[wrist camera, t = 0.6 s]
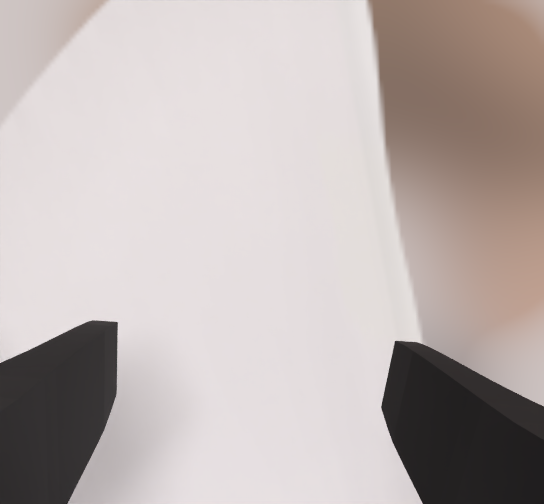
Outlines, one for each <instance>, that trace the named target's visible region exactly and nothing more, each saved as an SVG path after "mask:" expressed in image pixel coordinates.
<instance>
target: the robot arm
mask: <svg viewBox="0 0 544 504" xmlns="http://www.w3.org/2000/svg"><path fill="white" fill-rule="evenodd" d="M117 330H118V322H108V321H93V320H92V321H89V322H86V323H84V324H82V325H80V326H77V327H75V328H73V329H71V330H69V331H67V332H65V333H63V334H61V335H59V336H57V337H55V338H53V339H51V340H49V341H47V342H45V343H43V344H41V345H39V346H37V347H35V348H33V349H31V350H29V351H26V352H24V353H22V354H20V355H17V356H15V357H13V358H11V359H8V360H6V361H4V362H2V363H0V504H67V503H68V501H69V499H70V497H71V495H72V493H73V491H74V489H75V487H76V485H77V483H78V481H79V479H80V477H81V476H82V474H83V472H84V470H85V468H86V466H87V464H88V462H89V460H90V458H91V456H92V454H93V452H94V450H95V448H96V446H97V444H98V442H99V439H100V437H101V435H102V433H103V431H104V429H105V426H106V423H107V420H108V418H109V415H110V412H111V409H112V406H113V403H114V400H115V397H116V391H117ZM381 408H382V411H383V414H384V418H385V421H386V424H387V427H388V430H389V433H390V436H391V439H392V442H393V444H394V446H395V448H396V450H397V452H398V454H399V456H400V458H401V460H402V463H403V465H404V467H405V469H406V471H407V473H408V475H409V477H410V479H411V481H412V483H413V485H414V487H415V489H416V491H417V493H418V495H419V497H420V499H421V501H422V503H423V504H544V406H542V405H539V404H537V403H535V402H533V401H531V400H529V399H527V398H525V397H522V396H521V395H519V394H517V393H515V392H513V391H511V390H509V389H507V388H505V387H503V386H501V385H499V384H497V383H495V382H493V381H491V380H489V379H488V378H486V377H484V376H482V375H480V374H478V373H477V372H475V371H473V370H471V369H469V368H468V367H466V366H464V365H462V364H460V363H458V362H457V361H455V360H453V359H451V358H449V357H447V356H446V355H443V354H442V353H440V352H438V351H436V350H434V349H432V348H430V347H428V346H425V345H423V344H420V343H417V342H404V341H395V344H394V349H393V354H392V359H391V363H390V368H389V373H388V378H387V382H386V387H385V392H384V397H383V401H382V406H381Z"/></svg>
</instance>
